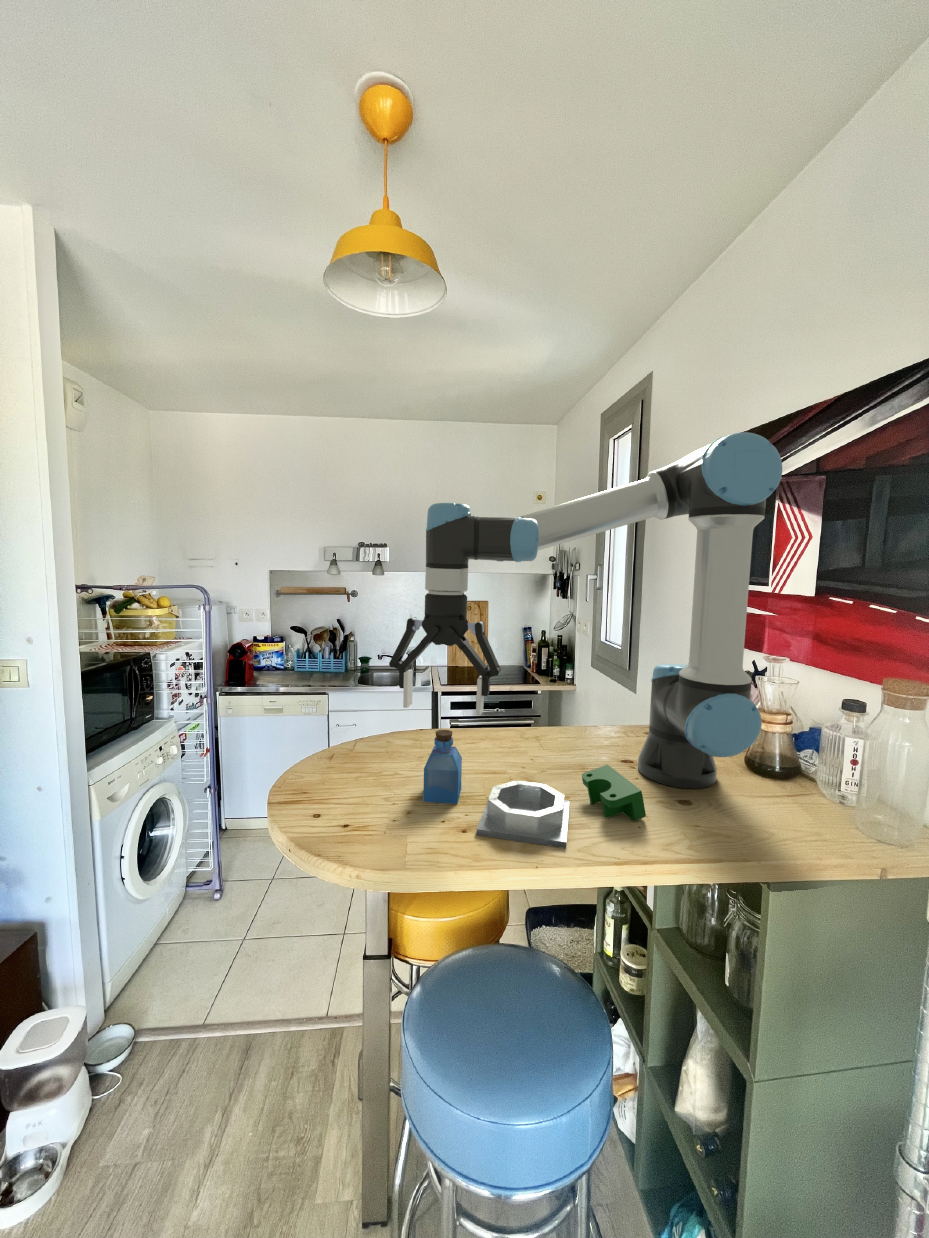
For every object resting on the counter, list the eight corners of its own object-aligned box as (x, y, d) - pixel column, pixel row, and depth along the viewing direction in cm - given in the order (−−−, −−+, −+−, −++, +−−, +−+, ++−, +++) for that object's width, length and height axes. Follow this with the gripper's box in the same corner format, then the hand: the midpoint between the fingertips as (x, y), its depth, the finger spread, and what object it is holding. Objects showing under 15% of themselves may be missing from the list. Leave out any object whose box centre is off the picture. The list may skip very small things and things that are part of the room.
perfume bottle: (461, 788, 98) (462, 727, 97) (457, 803, 92) (458, 739, 91) (429, 786, 99) (430, 726, 97) (423, 801, 93) (424, 737, 91)
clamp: (592, 823, 95) (575, 774, 97) (621, 812, 96) (603, 764, 98) (620, 831, 84) (600, 775, 86) (652, 819, 85) (632, 764, 87)
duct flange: (569, 806, 92) (570, 784, 91) (566, 848, 78) (567, 823, 78) (492, 796, 95) (493, 775, 95) (476, 834, 82) (477, 811, 81)
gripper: (519, 594, 92) (514, 710, 94) (388, 588, 98) (386, 697, 100) (513, 597, 85) (507, 722, 87) (372, 590, 90) (370, 708, 93)
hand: (443, 709), depth 93 cm, fingers open, 13 cm apart
